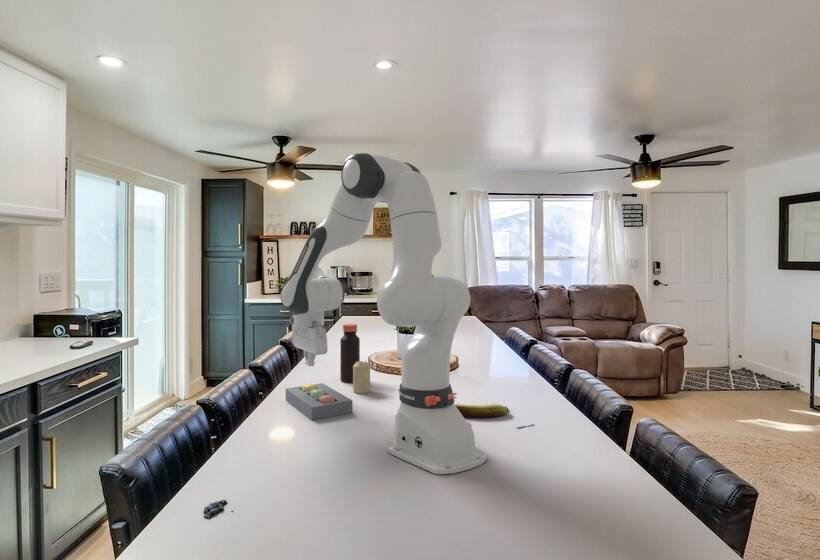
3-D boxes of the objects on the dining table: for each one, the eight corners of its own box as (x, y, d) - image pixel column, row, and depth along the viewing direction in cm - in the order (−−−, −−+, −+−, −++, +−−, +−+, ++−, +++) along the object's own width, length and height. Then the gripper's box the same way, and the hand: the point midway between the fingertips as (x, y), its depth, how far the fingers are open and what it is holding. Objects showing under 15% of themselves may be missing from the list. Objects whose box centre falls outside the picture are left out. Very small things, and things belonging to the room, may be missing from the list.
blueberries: (245, 504, 82) (245, 493, 82) (226, 525, 74) (227, 513, 74) (207, 504, 82) (207, 493, 82) (185, 525, 74) (185, 513, 74)
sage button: (327, 401, 135) (327, 391, 135) (313, 404, 133) (313, 393, 133) (321, 398, 139) (321, 388, 139) (308, 400, 136) (308, 390, 136)
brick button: (336, 408, 129) (336, 397, 129) (322, 410, 127) (322, 399, 127) (330, 404, 133) (330, 393, 133) (317, 406, 130) (316, 396, 130)
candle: (371, 389, 154) (371, 359, 154) (368, 394, 148) (368, 363, 148) (355, 388, 154) (355, 359, 154) (351, 393, 149) (351, 362, 149)
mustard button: (318, 395, 141) (318, 386, 141) (304, 397, 139) (304, 388, 139) (313, 392, 145) (312, 383, 144) (300, 394, 142) (299, 384, 142)
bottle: (338, 379, 167) (338, 324, 167) (356, 377, 170) (356, 323, 169) (343, 383, 161) (343, 326, 160) (362, 381, 164) (362, 325, 163)
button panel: (352, 412, 130) (352, 400, 130) (311, 420, 123) (311, 407, 123) (322, 393, 148) (322, 383, 148) (285, 399, 142) (285, 388, 142)
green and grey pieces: (423, 435, 114) (423, 420, 114) (414, 402, 142) (414, 390, 141) (561, 432, 117) (561, 417, 117) (526, 400, 144) (526, 388, 144)
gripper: (332, 322, 134) (333, 369, 134) (307, 316, 151) (308, 359, 151) (311, 323, 130) (312, 372, 130) (288, 318, 147) (289, 361, 148)
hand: (309, 365), depth 141 cm, fingers closed
